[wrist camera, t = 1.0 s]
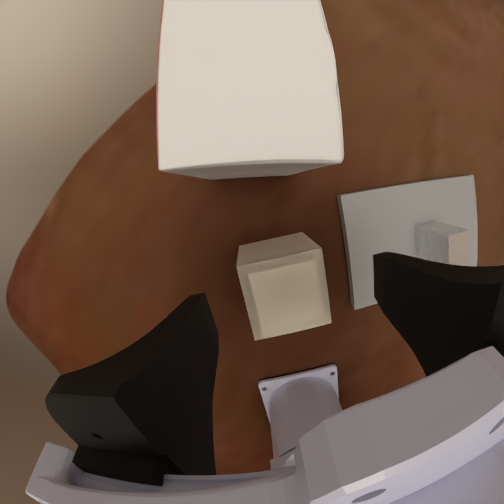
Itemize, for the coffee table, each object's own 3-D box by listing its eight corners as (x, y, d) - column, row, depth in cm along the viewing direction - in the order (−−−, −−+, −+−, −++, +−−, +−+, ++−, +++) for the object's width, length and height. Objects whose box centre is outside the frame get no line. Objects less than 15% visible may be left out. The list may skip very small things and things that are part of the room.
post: (435, 247, 21) (469, 261, 16) (415, 253, 21) (448, 269, 17) (434, 220, 21) (469, 229, 16) (413, 225, 21) (448, 236, 16)
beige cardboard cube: (312, 290, 23) (331, 322, 17) (253, 303, 23) (255, 340, 17) (302, 231, 22) (321, 248, 16) (239, 245, 22) (236, 266, 16)
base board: (471, 264, 23) (476, 267, 22) (350, 305, 23) (354, 310, 22) (467, 174, 21) (473, 175, 20) (336, 195, 21) (340, 195, 20)
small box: (204, 87, 19) (161, -9, 6) (282, 83, 19) (320, -17, 6) (209, 182, 21) (154, 174, 8) (290, 177, 21) (350, 163, 8)
